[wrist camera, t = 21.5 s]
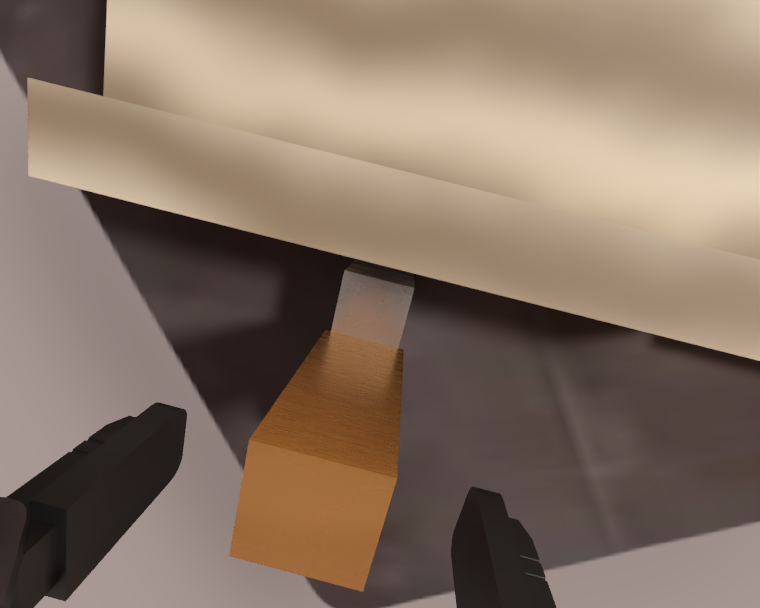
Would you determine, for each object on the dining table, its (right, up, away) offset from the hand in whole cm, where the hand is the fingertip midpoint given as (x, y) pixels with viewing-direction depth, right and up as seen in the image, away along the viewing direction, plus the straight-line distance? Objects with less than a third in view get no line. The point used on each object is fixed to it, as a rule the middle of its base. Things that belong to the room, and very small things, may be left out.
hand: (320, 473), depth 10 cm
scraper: (+1, +2, +10) cm, 11 cm away
